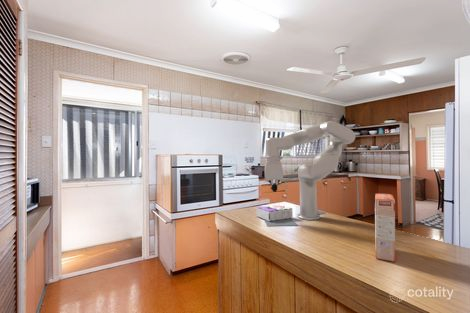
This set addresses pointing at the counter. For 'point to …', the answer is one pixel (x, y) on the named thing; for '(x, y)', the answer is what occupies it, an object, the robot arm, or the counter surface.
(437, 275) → the counter surface
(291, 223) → the mat
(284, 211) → the candy box
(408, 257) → the counter surface
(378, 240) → the cracker box
